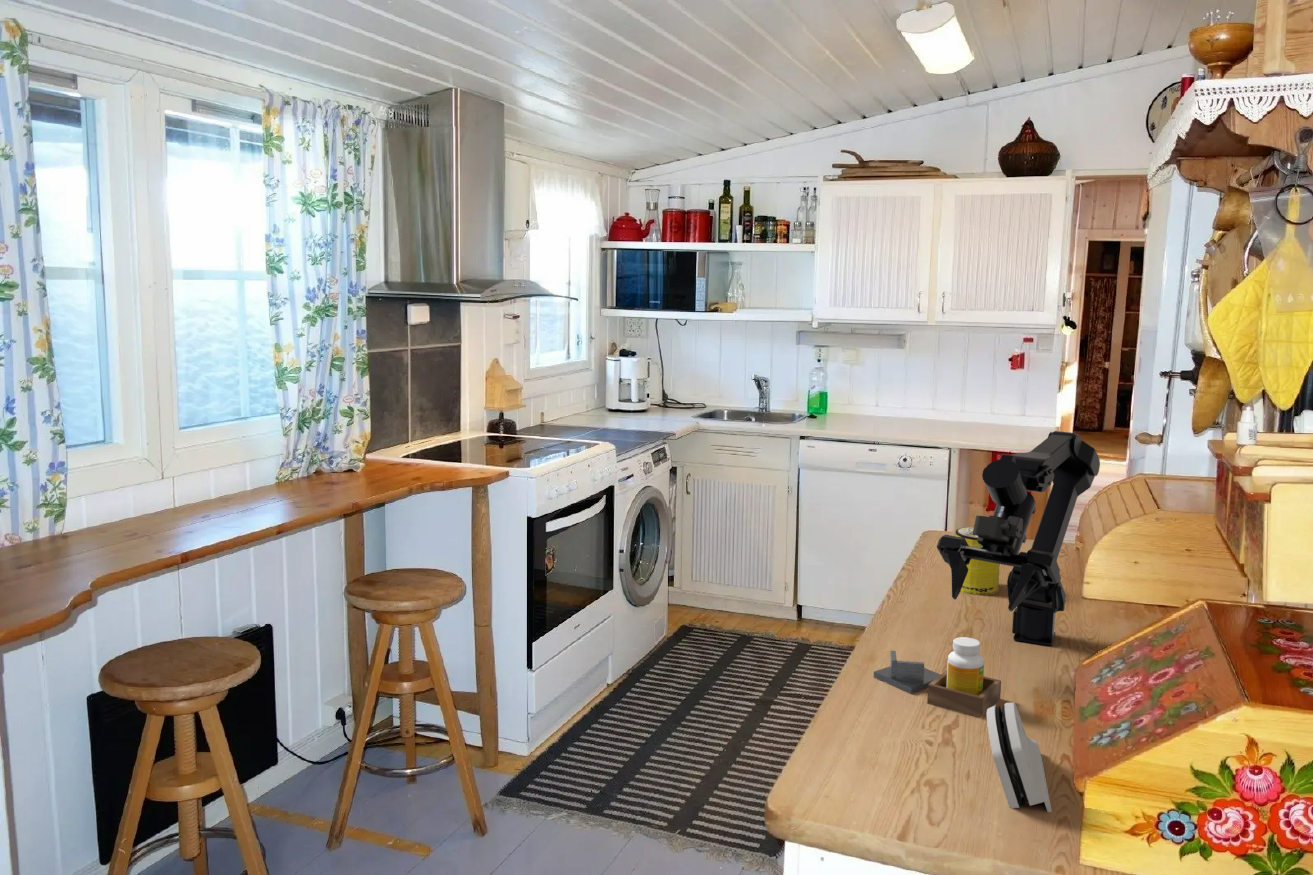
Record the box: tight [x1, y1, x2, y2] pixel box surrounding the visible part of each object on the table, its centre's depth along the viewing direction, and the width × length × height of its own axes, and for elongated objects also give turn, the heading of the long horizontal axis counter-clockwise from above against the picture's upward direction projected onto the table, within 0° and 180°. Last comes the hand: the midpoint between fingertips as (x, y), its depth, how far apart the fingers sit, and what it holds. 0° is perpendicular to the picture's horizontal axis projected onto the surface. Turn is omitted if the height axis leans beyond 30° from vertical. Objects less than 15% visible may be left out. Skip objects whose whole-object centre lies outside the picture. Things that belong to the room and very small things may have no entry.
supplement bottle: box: [946, 636, 985, 696], centre depth 157 cm, size 5×5×10 cm
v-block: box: [873, 650, 942, 695], centre depth 166 cm, size 8×8×4 cm
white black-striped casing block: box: [986, 702, 1052, 813], centre depth 134 cm, size 17×5×10 cm, turn 164°
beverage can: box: [955, 526, 1001, 596], centre depth 212 cm, size 9×9×12 cm
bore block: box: [926, 669, 1002, 718], centre depth 158 cm, size 8×8×3 cm
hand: (981, 604), depth 163 cm, fingers open, 9 cm apart
